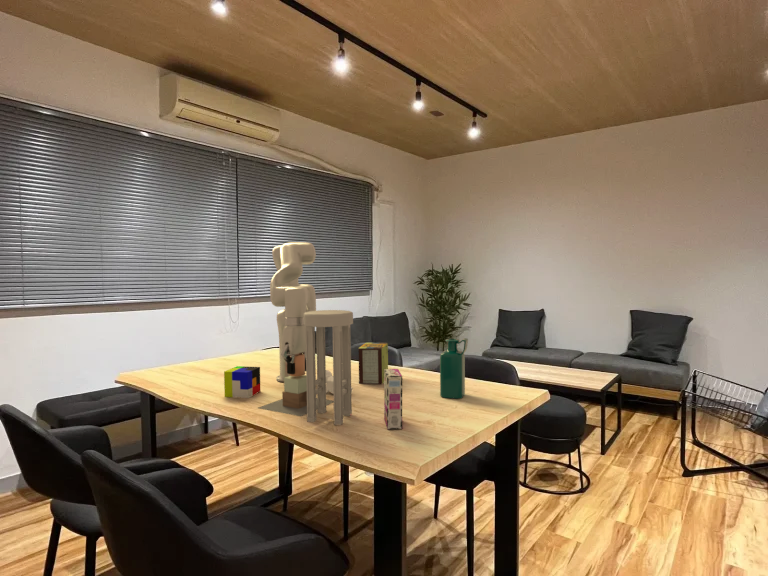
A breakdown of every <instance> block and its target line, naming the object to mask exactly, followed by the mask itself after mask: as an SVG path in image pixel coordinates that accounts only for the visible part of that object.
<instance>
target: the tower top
mask: <svg viewBox="0 0 768 576" xmlns="http://www.w3.org/2000/svg"><path fill="white" fill-rule="evenodd" d="M283 384H284V387H283V388H284V389H283V391H284V392H289V393H295V394H300V393H303V392H305V391H307V383H306V374H305V375H302V376H289V377H285V378H284V382H283Z"/></svg>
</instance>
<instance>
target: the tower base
mask: <svg viewBox="0 0 768 576" xmlns="http://www.w3.org/2000/svg"><path fill="white" fill-rule="evenodd" d="M281 394H282V397H281V399H283V406H287V407H292V408H298V409H299V408H302V407H304V406H307V391H305V392H303V393H300V394H295V393H289V392H284V390H283V391H282V392H281Z"/></svg>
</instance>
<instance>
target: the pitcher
mask: <svg viewBox="0 0 768 576" xmlns="http://www.w3.org/2000/svg"><path fill="white" fill-rule="evenodd" d="M444 341H445V342H446V343H447V349H445V350H444V351H442V352H441V353H440V355H439V388H440V389H439V390H440V391H439V393H440V397H441V398H444V399H454V400H460V399H462V398H463V397H465V394H466V383H465V382H466V376H465V375H466V371H465V370H466V368H465V367H466V365H465V364H466V358H465V357H466V356H465V355H466V354H465V352H466V351H467V349H468V344H469V343H468V342H469V339H468V338H467V337H466V338H463V339H462V340H460V339H458V338H446V339H445V340H444ZM462 342H464V343H463V350H459V349H458V344H461V343H462Z"/></svg>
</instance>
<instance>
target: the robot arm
mask: <svg viewBox="0 0 768 576" xmlns="http://www.w3.org/2000/svg"><path fill="white" fill-rule="evenodd" d="M316 254H317V253H316V248H315V246H314V244H313V243H311V242H285V243H284V244H281V245H277V246H274V247H273V249H272V260H273V264H274V265H275V266H274V267H275V268H276V270H277V271H276V272H275V274H274V275H273V276H272V278H271V280H270V284H269V292H270V293H269V294H270V295H269V297H270V303H271V304H272V305H273V306H274V307H277V308H279V307H284V309H280V310H279V311H278V312H277V314H276V324H277V330H278V342H279V343H278V346H279V347H278V348H279V349H278V350H279V354H278V355H279V375H277V376H276V377H275V379H276V381H277V382H280V383H281V382H283V383H284V378H285V377H289V376H290V375H289V374H295V363H293V362H294V358H295V355H296V354H304V355H305V372H306V331H305V325H304V313H305V312H309V311H317V296H316V289H315V287H314V286H313V285H312V284H307V283H305V284H303V283H301V284H300V283H299V278H300V277H301V276H302V275H303V272H304V270H303V269H304V268H303V265H311V264H313V263H314V262H315V261H316V257H317V255H316ZM290 356H291V358H290Z"/></svg>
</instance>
